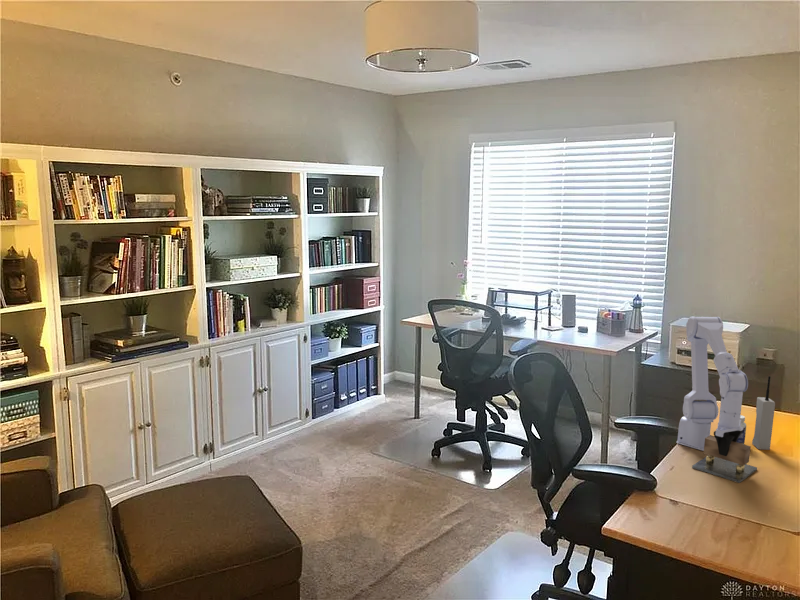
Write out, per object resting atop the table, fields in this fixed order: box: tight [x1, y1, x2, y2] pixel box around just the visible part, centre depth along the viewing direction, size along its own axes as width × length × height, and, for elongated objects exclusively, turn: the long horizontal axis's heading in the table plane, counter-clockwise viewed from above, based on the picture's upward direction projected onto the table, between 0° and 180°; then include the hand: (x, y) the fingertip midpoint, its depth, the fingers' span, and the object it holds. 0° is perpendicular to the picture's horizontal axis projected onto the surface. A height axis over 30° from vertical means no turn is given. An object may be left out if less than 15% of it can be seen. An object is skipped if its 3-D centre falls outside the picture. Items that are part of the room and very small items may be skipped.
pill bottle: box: [737, 414, 747, 445], centre depth 223 cm, size 5×5×10 cm
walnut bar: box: [703, 434, 752, 465], centre depth 201 cm, size 12×4×5 cm, turn 43°
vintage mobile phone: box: [751, 375, 776, 451], centre depth 218 cm, size 4×5×25 cm
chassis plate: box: [691, 455, 758, 484], centre depth 202 cm, size 14×14×3 cm
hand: (726, 453), depth 202 cm, fingers closed on walnut bar, 4 cm apart
